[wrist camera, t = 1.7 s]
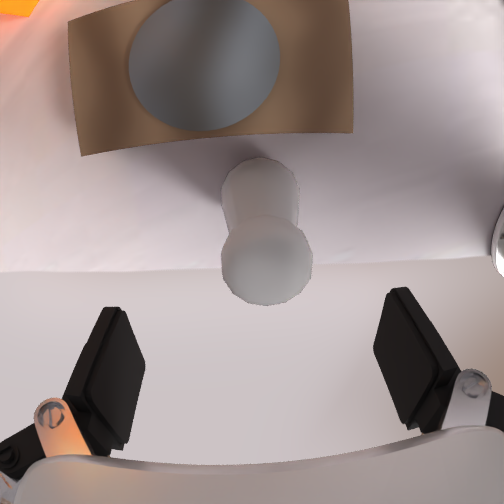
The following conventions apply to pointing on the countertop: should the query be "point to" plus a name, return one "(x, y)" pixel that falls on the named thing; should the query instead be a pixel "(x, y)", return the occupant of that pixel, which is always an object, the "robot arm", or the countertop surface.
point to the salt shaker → (263, 234)
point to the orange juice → (18, 7)
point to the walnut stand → (209, 70)
